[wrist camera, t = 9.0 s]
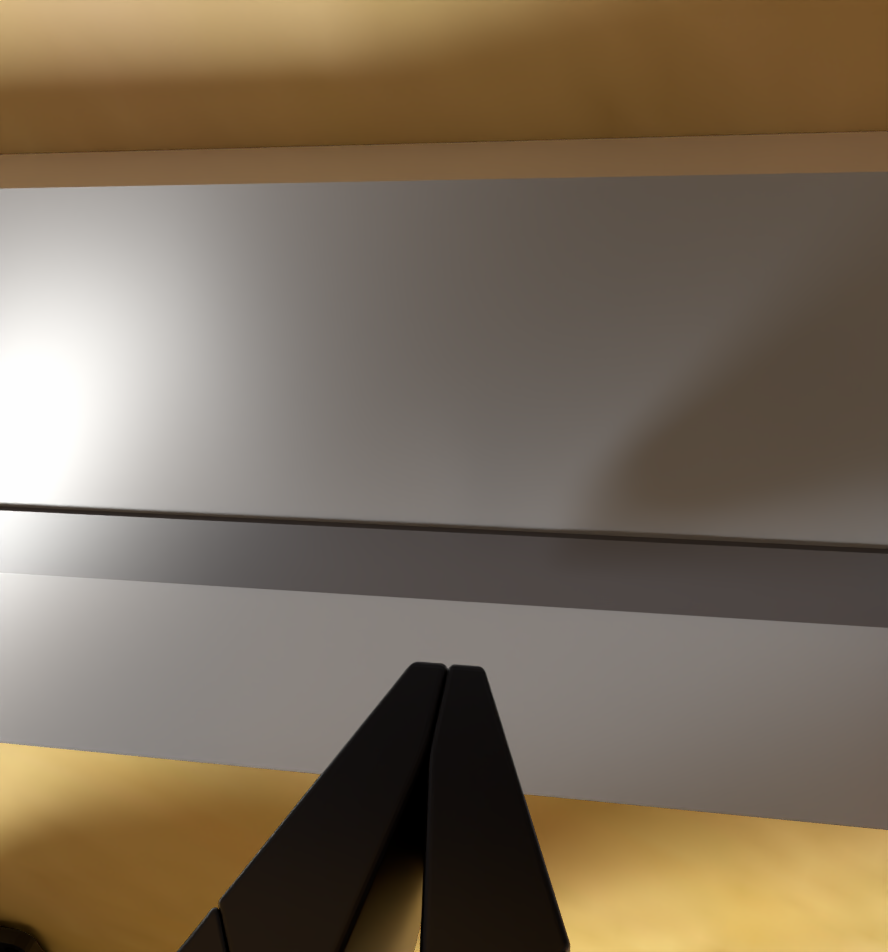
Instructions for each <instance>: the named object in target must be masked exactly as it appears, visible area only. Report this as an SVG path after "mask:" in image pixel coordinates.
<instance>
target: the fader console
mask: <svg viewBox="0 0 888 952" xmlns="http://www.w3.org/2000/svg"><path fill="white" fill-rule="evenodd" d="M414 662H431V663H442V664H445V665H446V666H447V668H449V667H450V666H451V665H454V664H458V665H471V666H480V667H482V668H483V669H484V670H485V672H486V674H487V678H488V681H489V684H490V687H491V690H492V694H493V697H494V700H495V703H496V707H497V710H498V713H499V716H500V720H501V723H502V726H503V729H504V732H505V736H506V739H507V742H508V745H509V749H510V752H511V755H512V758H513V761H514V765H515V768H516V771H517V774H518V778H519V781H520V784H521V787H522V791H523V794H528V795H538V796H548V797H558V798H568V799H578V800H589V801H599V802H609V803H619V804H629V805H639V806H650V807H660V808H670V809H680V810H690V811H700V812H711V813H721V814H731V815H741V816H751V817H761V818H772V819H782V820H792V821H802V822H812V823H822V824H833V825H843V826H853V827H863V828H873V829H883V830H888V131H869V132H831V133H793V134H755V135H717V136H679V137H642V138H604V139H566V140H528V141H490V142H452V143H414V144H377V145H339V146H301V147H263V148H225V149H187V150H149V151H111V152H74V153H36V154H0V743H9V744H19V745H30V746H40V747H50V748H60V749H70V750H80V751H91V752H101V753H111V754H121V755H131V756H141V757H152V758H162V759H172V760H182V761H192V762H202V763H213V764H223V765H233V766H243V767H253V768H263V769H274V770H284V771H294V772H304V773H314V774H322V773H323V771H324V770H325V769H326V768H327V766H328V765H329V764H330V763H331V761H332V760H333V759H334V758H335V757H336V755H337V754H338V753H339V752H340V750H341V749H342V748H343V747H344V745H345V744H346V743H347V742H348V741H349V739H350V738H351V737H352V736H353V734H354V733H355V732H356V731H357V729H358V728H359V727H360V726H361V724H362V723H363V722H364V721H365V720H366V718H367V717H368V716H369V715H370V713H371V712H372V711H373V710H374V708H375V707H376V706H377V705H378V703H379V702H380V701H381V700H382V699H383V697H384V696H385V695H386V694H387V692H388V691H389V690H390V689H391V687H392V686H393V685H394V684H395V682H396V681H397V680H398V679H399V678H400V676H401V675H402V674H403V673H404V671H405V670H406V669H407V668H408V667H409V665H411V664H412V663H414Z"/></svg>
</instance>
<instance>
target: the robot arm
mask: <svg viewBox="0 0 888 952" xmlns="http://www.w3.org/2000/svg"><path fill="white" fill-rule="evenodd" d="M218 906H219V909H218V908H212V909H211V910H210V911H209V913H208V914H207V915H206V916H205V918H204V919H203V920H202V921H201V923H200V924H199V925H198V926H197V928H196V929H195V930H194V931H193V933H192V934H191V935H190V936H189V938H188V939H187V940H186V941H185V943H184V944H183V945H182V946H181V947H180V948H179V950H178V951H177V952H414V950H415V946H416V942H417V937H418V933H419V929H420V924H421V934H420V952H570V942H569V939H568V936H567V932H566V929H565V926H564V923H563V920H562V916H561V913H560V910H559V907H558V903H557V900H556V897H555V894H554V891H553V887H552V884H551V881H550V878H549V874H548V871H547V868H546V865H545V861H544V858H543V855H542V852H541V849H540V845H539V842H538V839H537V836H536V832H535V829H534V826H533V823H532V820H531V816H530V813H529V810H528V807H527V803H526V800H525V797H524V794H523V791H522V787H521V784H520V781H519V778H518V774H517V771H516V768H515V765H514V761H513V758H512V755H511V752H510V749H509V745H508V742H507V739H506V736H505V732H504V729H503V726H502V723H501V720H500V716H499V713H498V710H497V707H496V703H495V700H494V697H493V694H492V690H491V687H490V684H489V681H488V678H487V674H486V672H485V670H484V669H483V668H482V667H480V666H471V665H458V664H454V665H451V666H450V667H449V668H447V666H446V665H445V664H442V663H431V662H414V663H412V664H411V665H409V667H408V668H407V669H406V670H405V671H404V673H403V674H402V675H401V676H400V678H399V679H398V680H397V681H396V682H395V684H394V685H393V686H392V687H391V689H390V690H389V691H388V692H387V694H386V695H385V696H384V697H383V699H382V700H381V701H380V702H379V703H378V705H377V706H376V707H375V708H374V710H373V711H372V712H371V713H370V715H369V716H368V717H367V718H366V720H365V721H364V722H363V723H362V724H361V726H360V727H359V728H358V729H357V731H356V732H355V733H354V734H353V736H352V737H351V738H350V739H349V741H348V742H347V743H346V744H345V745H344V747H343V748H342V749H341V750H340V752H339V753H338V754H337V755H336V757H335V758H334V759H333V760H332V761H331V763H330V764H329V765H328V766H327V768H326V769H325V770H324V771H323V773H322V774H321V775H320V776H319V778H318V779H317V780H316V781H315V782H314V784H313V785H312V786H311V787H310V789H309V790H308V791H307V792H306V794H305V795H304V796H303V797H302V799H301V800H300V801H299V802H298V803H297V805H296V806H295V807H294V808H293V810H292V811H291V812H290V813H289V815H288V816H287V817H286V818H285V820H284V821H283V822H282V823H281V824H280V826H279V827H278V828H277V829H276V831H275V832H274V833H273V834H272V836H271V837H270V838H269V839H268V840H267V842H266V843H265V844H264V845H263V847H262V848H261V849H260V850H259V852H258V853H257V854H256V855H255V857H254V858H253V859H252V860H251V861H250V863H249V864H248V865H247V866H246V868H245V869H244V870H243V871H242V873H241V874H240V875H239V876H238V878H237V879H236V880H235V881H234V882H233V884H232V885H231V886H230V887H229V889H228V890H227V891H226V892H225V894H224V895H223V896H222V897H221V899H220V900H219V902H218ZM0 952H43V950H42V949H41V947H40V946H39V944H38V943H37V941H36V940H35V939H34V938H33V937H32V936H31V935H29V934H28V933H25V932H23V931H20V930H16V929H10V928H2V927H0Z"/></svg>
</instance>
